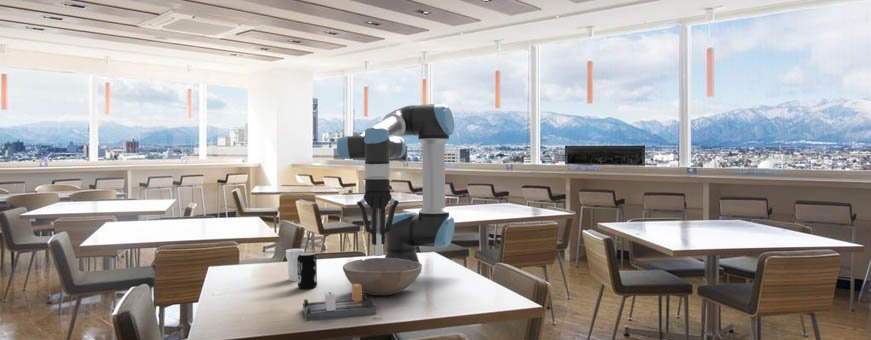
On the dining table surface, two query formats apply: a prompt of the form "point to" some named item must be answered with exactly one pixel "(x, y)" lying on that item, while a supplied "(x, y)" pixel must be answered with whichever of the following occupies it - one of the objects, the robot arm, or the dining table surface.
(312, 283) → the beverage can
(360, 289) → the orange fader
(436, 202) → the robot arm
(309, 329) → the dining table surface
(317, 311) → the panel
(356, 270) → the bowl
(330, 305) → the white fader
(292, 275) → the cup
